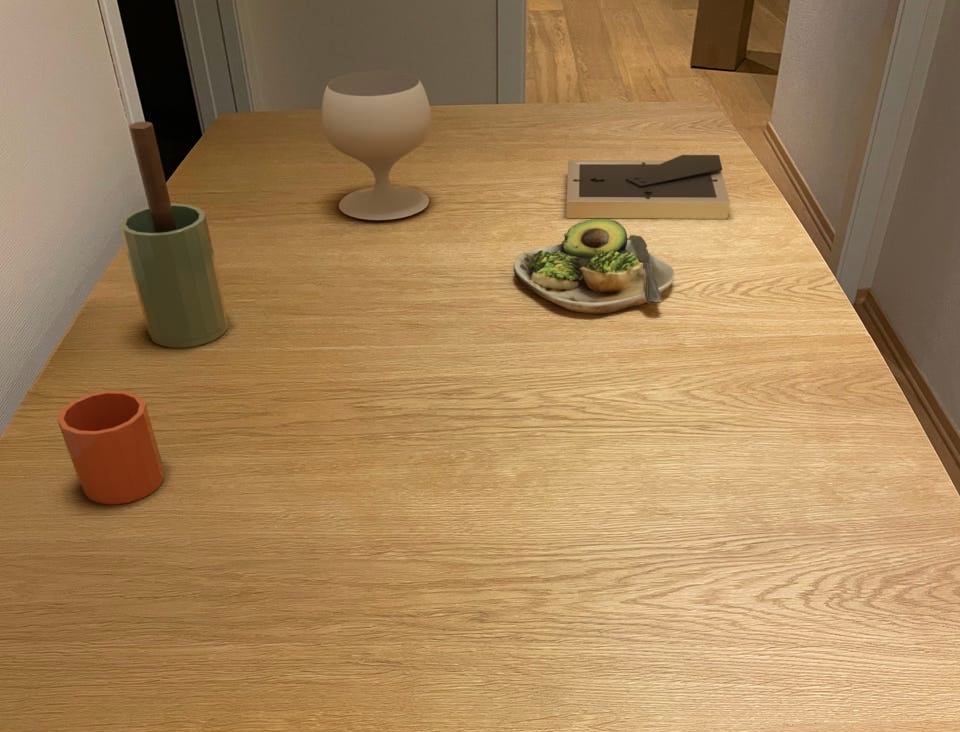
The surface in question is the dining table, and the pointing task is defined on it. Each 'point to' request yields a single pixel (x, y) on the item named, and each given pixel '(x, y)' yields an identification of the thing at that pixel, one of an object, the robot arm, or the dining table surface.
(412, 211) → the chalice
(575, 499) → the dining table surface
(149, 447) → the pot
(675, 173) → the picture frame
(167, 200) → the brush
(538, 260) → the avocado toast plate
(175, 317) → the sage green cup
